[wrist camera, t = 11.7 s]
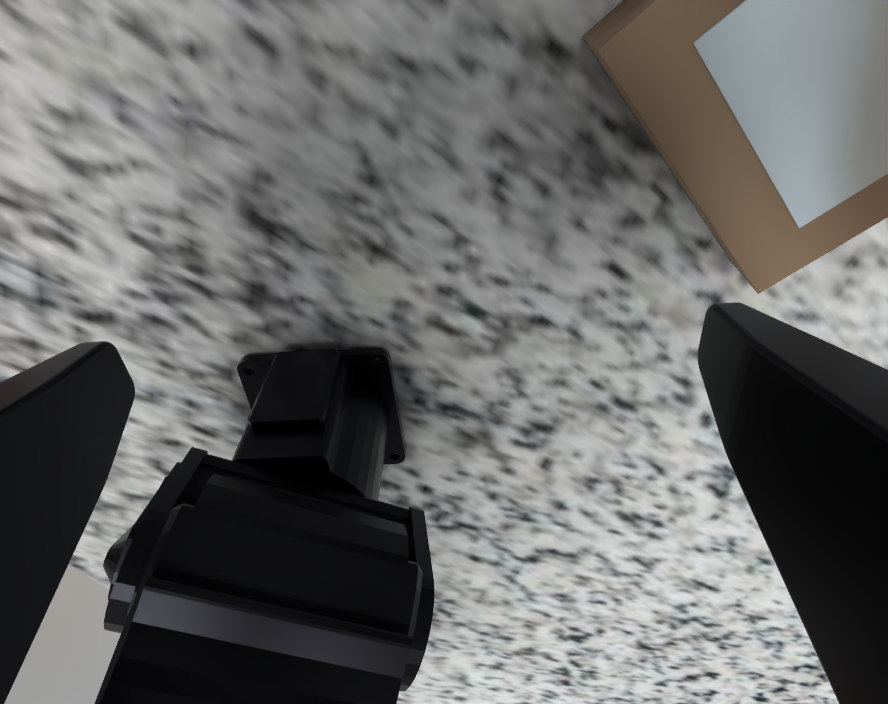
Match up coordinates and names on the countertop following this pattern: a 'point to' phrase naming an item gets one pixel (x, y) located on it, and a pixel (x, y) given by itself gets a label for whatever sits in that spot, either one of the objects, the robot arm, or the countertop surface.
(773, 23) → the walnut base plate
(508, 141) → the countertop surface
